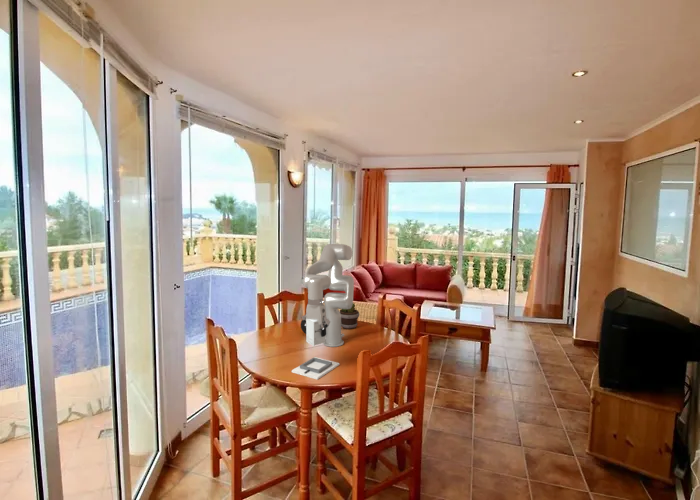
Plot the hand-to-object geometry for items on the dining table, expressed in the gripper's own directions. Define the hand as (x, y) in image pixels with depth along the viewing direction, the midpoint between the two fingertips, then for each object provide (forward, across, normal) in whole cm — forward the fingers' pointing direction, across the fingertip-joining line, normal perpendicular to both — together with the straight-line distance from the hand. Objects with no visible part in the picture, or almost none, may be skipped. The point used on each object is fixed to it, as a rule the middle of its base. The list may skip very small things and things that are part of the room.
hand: (315, 334), depth 194 cm
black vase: (+18, +32, -43) cm, 57 cm away
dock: (+18, 0, 0) cm, 18 cm away
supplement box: (+5, 0, 0) cm, 5 cm away
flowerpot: (+18, +20, -67) cm, 72 cm away
